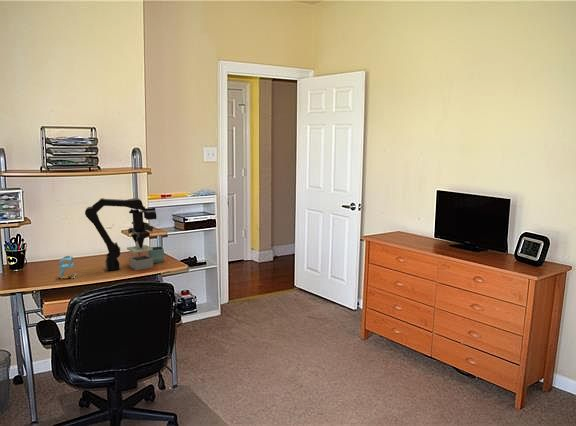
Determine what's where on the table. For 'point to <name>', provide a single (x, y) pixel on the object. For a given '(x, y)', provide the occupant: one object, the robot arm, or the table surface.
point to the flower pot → (156, 254)
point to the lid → (138, 249)
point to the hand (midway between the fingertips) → (139, 246)
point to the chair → (65, 266)
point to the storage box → (141, 262)
